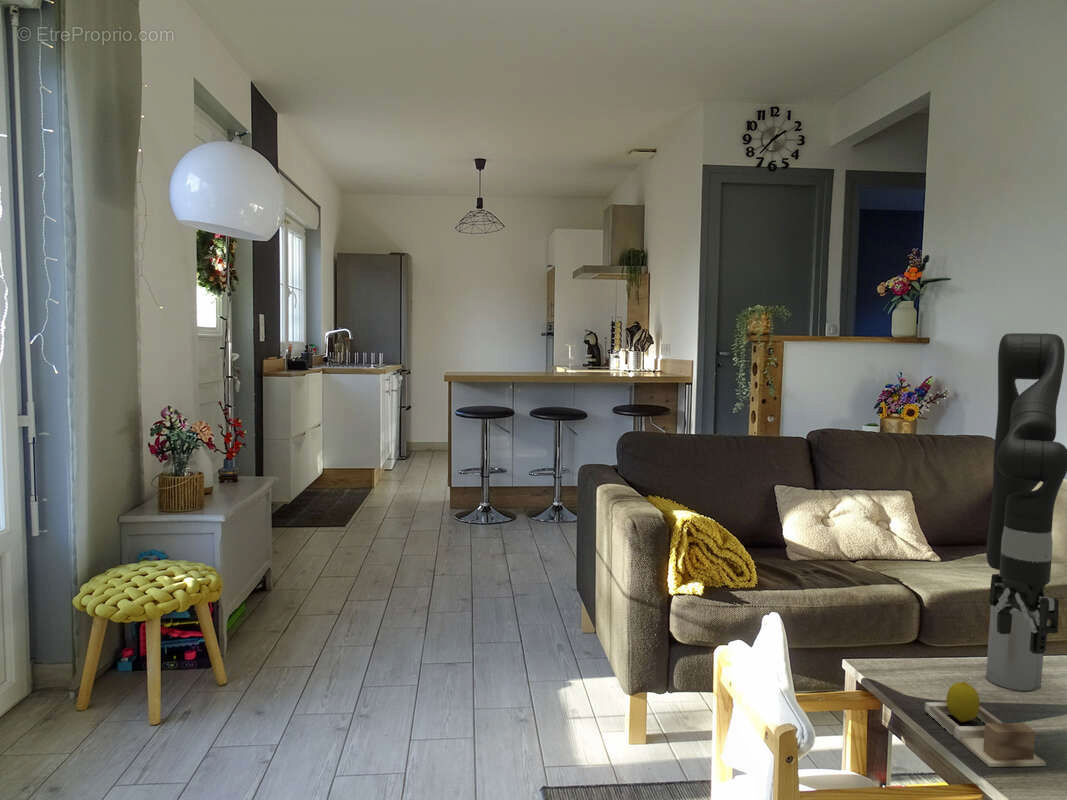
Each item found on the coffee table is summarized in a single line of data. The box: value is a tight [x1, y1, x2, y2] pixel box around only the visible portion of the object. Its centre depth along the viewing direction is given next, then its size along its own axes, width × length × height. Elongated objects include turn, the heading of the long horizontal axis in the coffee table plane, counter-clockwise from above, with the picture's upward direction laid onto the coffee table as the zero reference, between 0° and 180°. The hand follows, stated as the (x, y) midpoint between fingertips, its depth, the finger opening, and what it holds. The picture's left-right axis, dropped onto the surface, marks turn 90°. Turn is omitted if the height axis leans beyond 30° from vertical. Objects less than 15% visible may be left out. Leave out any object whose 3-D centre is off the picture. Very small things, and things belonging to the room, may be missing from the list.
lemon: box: [945, 680, 981, 723], centre depth 147 cm, size 6×6×8 cm
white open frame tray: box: [924, 701, 1047, 768], centre depth 142 cm, size 10×20×6 cm, turn 4°
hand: (1019, 642), depth 137 cm, fingers open, 8 cm apart
